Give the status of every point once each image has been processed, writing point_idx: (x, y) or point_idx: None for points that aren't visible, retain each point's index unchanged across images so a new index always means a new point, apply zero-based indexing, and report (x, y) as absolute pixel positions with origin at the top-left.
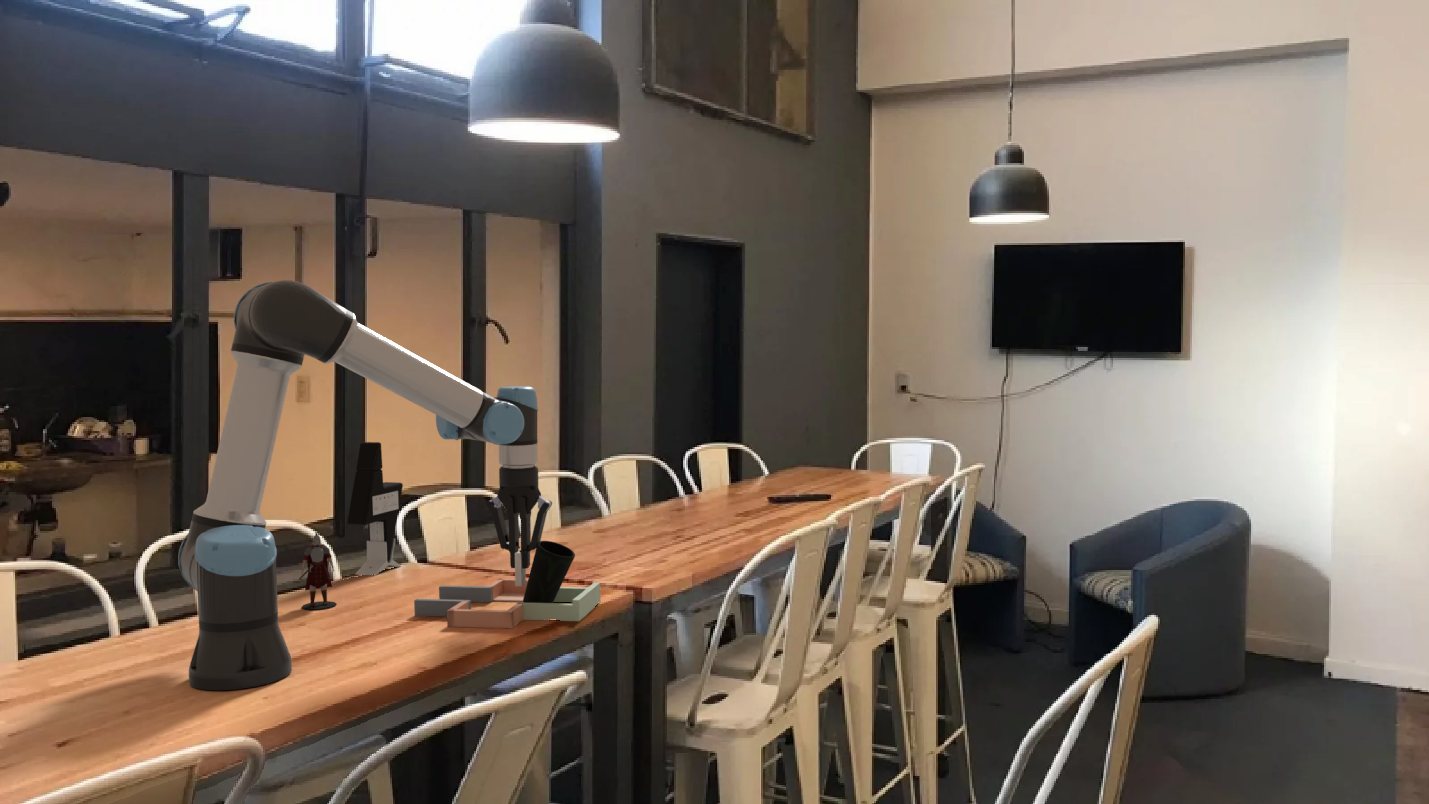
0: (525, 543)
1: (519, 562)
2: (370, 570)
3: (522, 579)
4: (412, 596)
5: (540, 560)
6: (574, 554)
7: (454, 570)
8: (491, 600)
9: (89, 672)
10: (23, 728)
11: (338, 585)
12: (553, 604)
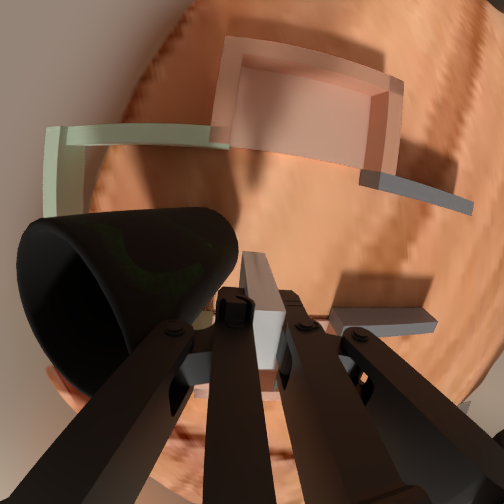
0: (222, 348)
1: (255, 288)
2: (461, 410)
3: (242, 270)
4: (450, 332)
5: (122, 227)
6: (26, 315)
7: None
8: (331, 312)
9: None
10: None
11: (493, 359)
12: (116, 128)
